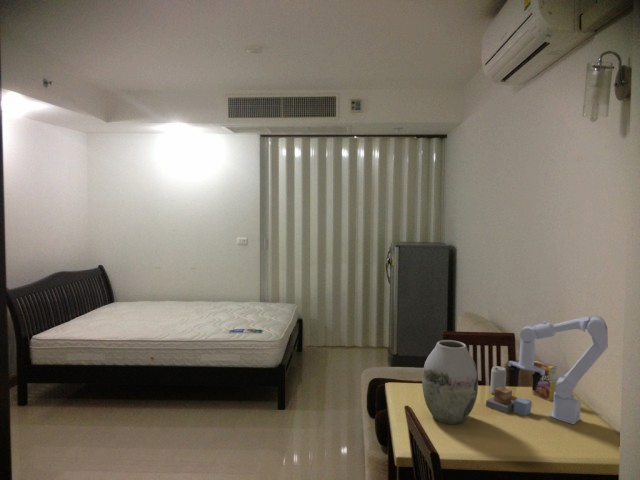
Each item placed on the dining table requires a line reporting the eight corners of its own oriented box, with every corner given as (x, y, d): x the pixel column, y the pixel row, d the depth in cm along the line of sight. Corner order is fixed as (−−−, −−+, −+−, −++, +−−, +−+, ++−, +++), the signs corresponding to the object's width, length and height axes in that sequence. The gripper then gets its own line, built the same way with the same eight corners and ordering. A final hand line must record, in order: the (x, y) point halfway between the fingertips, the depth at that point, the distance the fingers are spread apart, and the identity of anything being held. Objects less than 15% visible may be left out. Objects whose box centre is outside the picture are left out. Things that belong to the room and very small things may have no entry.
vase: (482, 431, 174) (486, 353, 172) (425, 428, 176) (428, 350, 174) (468, 407, 195) (471, 337, 194) (417, 405, 197) (420, 335, 195)
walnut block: (511, 402, 196) (512, 390, 196) (504, 404, 193) (505, 392, 193) (500, 398, 200) (501, 386, 200) (493, 400, 197) (494, 389, 197)
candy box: (531, 394, 213) (533, 361, 212) (537, 392, 215) (539, 360, 214) (548, 401, 205) (550, 367, 204) (554, 399, 207) (557, 366, 206)
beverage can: (487, 392, 214) (488, 366, 213) (497, 390, 216) (498, 364, 216) (497, 397, 208) (499, 371, 207) (508, 395, 210) (509, 369, 210)
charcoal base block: (516, 408, 197) (516, 401, 197) (506, 414, 191) (506, 407, 191) (496, 401, 204) (496, 395, 204) (485, 407, 198) (486, 400, 197)
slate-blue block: (530, 412, 193) (531, 400, 192) (525, 416, 189) (526, 404, 189) (518, 408, 196) (519, 397, 196) (513, 411, 193) (514, 400, 193)
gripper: (505, 352, 197) (504, 384, 198) (540, 361, 187) (538, 394, 188) (513, 349, 202) (511, 380, 203) (547, 358, 192) (545, 390, 192)
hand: (525, 386), depth 196 cm, fingers open, 7 cm apart
